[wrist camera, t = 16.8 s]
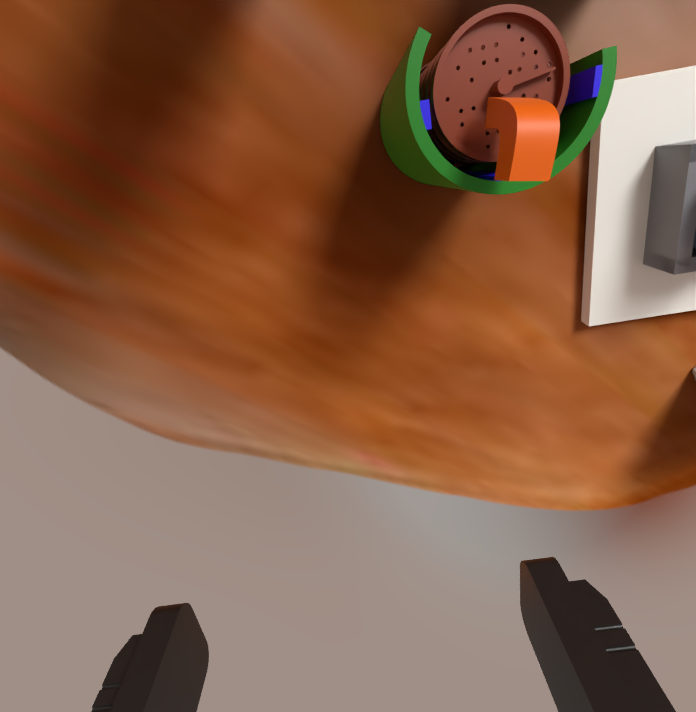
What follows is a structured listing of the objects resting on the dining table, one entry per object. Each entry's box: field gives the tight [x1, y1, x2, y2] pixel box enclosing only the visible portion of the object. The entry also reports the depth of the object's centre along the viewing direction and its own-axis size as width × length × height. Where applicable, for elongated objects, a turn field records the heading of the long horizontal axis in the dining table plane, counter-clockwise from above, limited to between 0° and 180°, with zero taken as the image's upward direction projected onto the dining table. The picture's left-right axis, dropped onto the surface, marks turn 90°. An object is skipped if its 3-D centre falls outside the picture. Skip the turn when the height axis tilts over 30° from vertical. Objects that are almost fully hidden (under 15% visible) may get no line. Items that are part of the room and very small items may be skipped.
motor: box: [380, 4, 617, 194], centre depth 27 cm, size 10×9×20 cm
